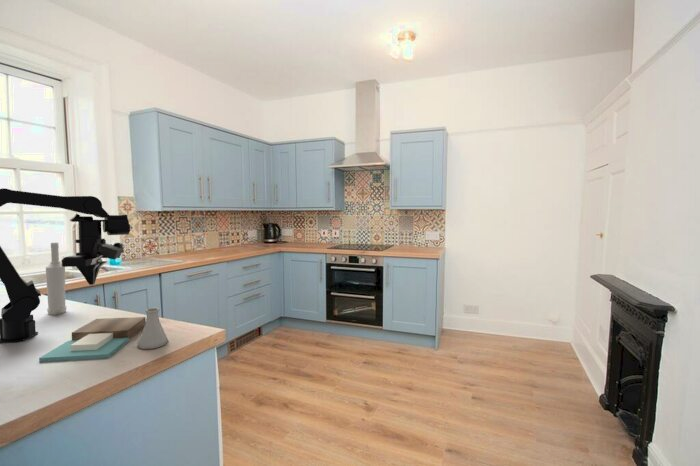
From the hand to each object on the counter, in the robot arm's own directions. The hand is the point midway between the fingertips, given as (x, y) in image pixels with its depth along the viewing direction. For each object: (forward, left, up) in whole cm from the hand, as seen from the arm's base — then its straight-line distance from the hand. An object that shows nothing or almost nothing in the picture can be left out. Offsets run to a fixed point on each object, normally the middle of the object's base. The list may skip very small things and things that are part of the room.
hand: (91, 284), depth 106 cm
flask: (+25, -20, -13) cm, 35 cm away
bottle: (-19, +15, -13) cm, 28 cm away
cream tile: (+10, -20, -12) cm, 26 cm away
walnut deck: (+10, -10, -13) cm, 19 cm away
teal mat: (+10, -22, -13) cm, 27 cm away
